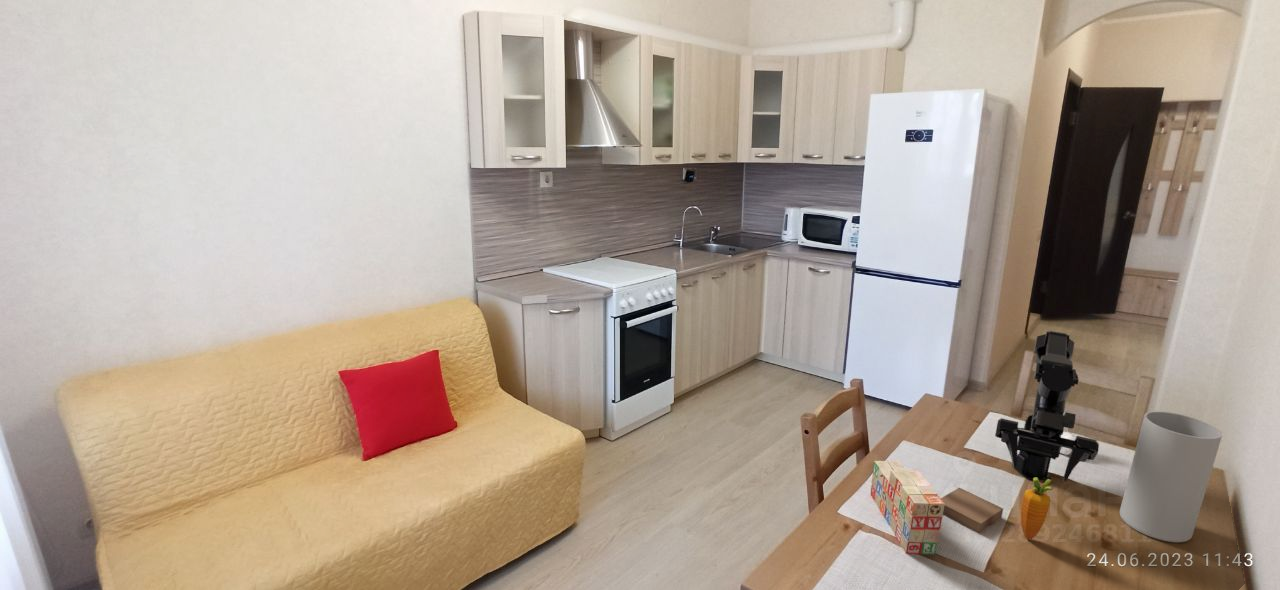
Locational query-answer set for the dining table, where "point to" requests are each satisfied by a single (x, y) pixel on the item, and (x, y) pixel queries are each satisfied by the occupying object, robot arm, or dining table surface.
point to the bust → (1067, 436)
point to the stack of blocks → (908, 506)
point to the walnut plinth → (970, 510)
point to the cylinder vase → (1169, 475)
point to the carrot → (1034, 508)
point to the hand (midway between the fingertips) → (1039, 474)
